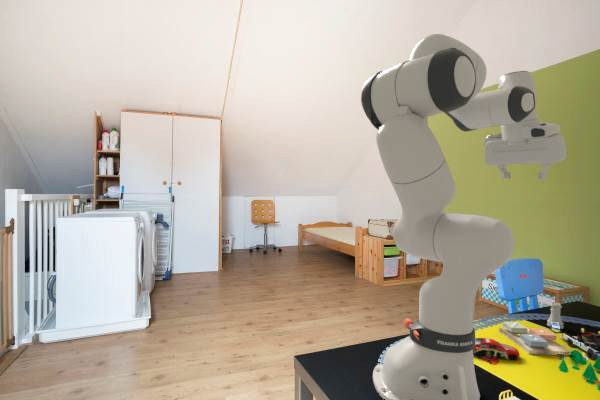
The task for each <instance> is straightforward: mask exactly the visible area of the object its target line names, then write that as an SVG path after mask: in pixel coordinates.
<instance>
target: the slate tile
mask: <svg viewBox="0 0 600 400" xmlns="http://www.w3.org/2000/svg"><path fill="white" fill-rule="evenodd" d="M520 339H521V340H523V341H524V342H525V343H527V344H528V345H529V346H536V347H548V342H547V341H546V340H544V339H543V338H541V337H540V336H538V335H533V334H520Z"/></svg>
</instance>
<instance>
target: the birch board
mask: <svg viewBox="0 0 600 400" xmlns="http://www.w3.org/2000/svg"><path fill="white" fill-rule="evenodd" d="M529 329H530V328H527V333H515V332H510V331H509V330H507V329H506V328H505V327H499V329H498V331H499V332H500V333H501V334H503V335H504V336H505V337H506V338H508V339H509V340H510V341H511V342H513V343H515V344H516V345H517V346H518V347H520V348H521V349H522V350H523V351H524V352H527V354H529V355H549V356H550V355H551V356H558V355H557V354H558V352H560V351H562V352H563V353H564V355H563V356H568V355H569V353H570V352H572V351H571V350H569V349H568V348H567V347H564V346H563V345H561V344H560V343H558V342H556V340H546V341H547V342H548V347H536V346H529V345H528V344H527V343H525V342H524V341H523V340H521V339H520V337H518V336H517V334H530V333H529Z"/></svg>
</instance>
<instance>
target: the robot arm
mask: <svg viewBox="0 0 600 400" xmlns="http://www.w3.org/2000/svg"><path fill="white" fill-rule="evenodd" d="M486 77H487V66H486V63H485V61H484V60H483V58H482V57H481V55H480V54H479V53H477V52H476V51H475V50H474V49H473V48H471V47H469V46H468V45H467V44H465V43H463V42H462V41H460V40H458V39H456V38H454V37H451V36H448V35H445V34H441V33H434V34H430V35H427V36H426V37H424V38H422V39H421V40H420V41H419V42H417V44H416V45H415V47H413V50H412V51H411V53H410V56H409V59H408V60H405V61H402V62H401V63H398V64H396V65H393V66H391V67H389V68H387V69H385V70H382V71H378V72H376V73H375V74H373V75H372V76H370V77H369V78H368V79H367V80H366V81H365V82H364V83H363V86H362V88H361V95H360V103H361V107H362V109H363V112H364V114H365V116H366V117H367V119H368V120H369V122H370V123H371V124H372V126H373V127H374V128H375V129H376V130H377V132H376V139H375V140H376V145H377V149H378V152H379V155H380V159H381V162H382V164H383V168H384V169H385V173H386V175H387V177H388V179H389V181H390V183H391V186H392V188H393V189H394V191H395V194H396V196H397V198H398V201H399V203H400V206H401V211H402V213H401V215H400V216H399V218H398V219H397V220H396V221H395V223H394V226H393V230H392V237H393V242H394V243H395V244H394V245H395V246H396V247H397V249H398V250H399V251H401V252H403V253H406V254H408V255H410V256H413V257H415V258H418V259H423V260H428V261H432V262H433V261H434V262H438V263H442V271H441V273H440V275H439V276H436V277H433V278H430V279H428V280H426V281H425V282H424V283H423V284H422V285H421V287H420V289H419V293H418V295H419V297H418V298H419V299H418V301H419V302H418V307H419V308H418V318H417V320H416V321H415V322H413V320H412V319H411V318H408V317H407V318H405V319H404V320H403V325H404V327H405V328H406V330H409V335H408V336H406V337H405V338H403V339H402V340H400V341H399V342H396V343H395V344H393V345H392V346H390V347H389V348H387V350H386V352H385V354H384V358H383V362H382V364H377V365H375V367H374V369H373V371H372V381H373V385H374V388H375V390H376V392H377V394H378V393H379V394H378V395H379V396H380V397H381V398H382V400H384V399H385V400H480V398H481V394H480V390H479V387H478V382H477V378H476V377H477V376H476V372H475V371H476V370H475V361H474V355H473V354H474V353H475V338H476V329H475V328H474V317H475V316H474V315H475V314H474V313H475V306H476V305H475V304H476V296H477V293H478V290H479V288H480V287H481V285H482V283H483V282H484V280H485V279H486V278H488V276H489V275H491V274H492V273H493V272H495V271H497V270H499V269H501V268H503V267H504V266H505V265H507V263H508V262H509V261H510V260H511V259H512V256H513V255H514V251H515V246H516V245H515V244H516V243H515V242H516V241H515V238H514V233H513V232H512V230H511V229H510V227H509V225H508V224H506V222H504V221H503V220H500V219H496V218H493V217H489V216H485V215H484V216H483V215H480V214H466V213H465V214H463V213H452V212H451V213H450V212H447V211H445V210H444V209H445V208H447V207H448V205H449V206H450V204H451V203H452V201H453V199H454V198H455V194H456V190H457V189H456V182H455V180H454V177H453V174H452V173H451V170H450V167H449V165H448V162H447V160H446V157H445V155H444V153H443V150H442V147H441V146H440V144H439V142H438V140H437V139H436V136H435V135H434V133H433V131H432V130H431V128H430V127H429V125H428V124H429V123H428V122H429V121H428V117H433V116H437V115H439V114H442V113H445V115H446V116H448V117H449V118H450V119H451V120H452V121H453V124H454V125H455V126H456V128H458V129H459V130H460V131H462V132H472V131H476V130H481V129H488V128H495V127H500V130H501V133H495V134H492V133H491V134H489V135H487V136H486V137H485V138H484V139H483V146H484V162H485V164H486V165H488V166H497V169H498V171H499V172H500V173H501V174H502V179H503V180H509V179H511V178H512V176H511V174H512V173H511V172H510V171H508V170H507V168H506V167H507V165H530V164H531V165H533V164H541V165H540V166H541V168H542V170H541V171H539V172H537V179H538V180H546V179H547V177H548V175H547V174H548V173H547V172H548V171H549V169H550V167H551V166H552V164H559V163H561V162H563V161H564V160H565V159H566V158H567V148H566V147H567V146H566V142H565V139H564V136H563V135H562V134H560V133H559V132H561V125H560V124H557V123H552V122H551V123H550V122H545V121H539V115H538V113H537V108H536V107H537V102H538V100H537V91H536V86H535V81H534V77H533V74H532V72H530V71H528V70H519V71H513V72H509V73H506V74H504V75H501V76H500V77H499V79H498V85H497V86H498V88H497V89H493V90H488V91H483V92H480V91H481V90H482V88H483V86H484V84H485V82H486V79H487V78H486ZM479 92H480V93H479Z"/></svg>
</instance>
